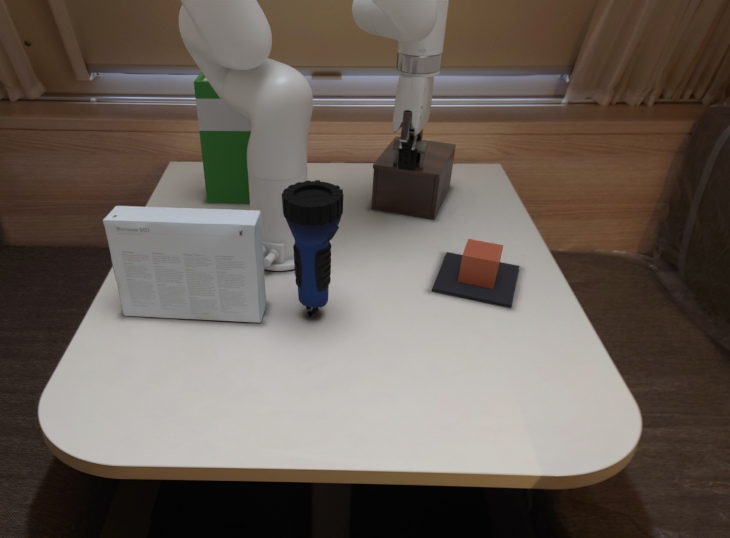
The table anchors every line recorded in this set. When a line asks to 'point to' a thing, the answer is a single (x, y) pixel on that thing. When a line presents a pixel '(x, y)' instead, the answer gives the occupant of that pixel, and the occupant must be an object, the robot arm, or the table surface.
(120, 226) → the skincare box
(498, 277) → the mat
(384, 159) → the lid
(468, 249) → the small box
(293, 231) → the flashlight
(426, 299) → the table surface
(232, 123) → the hardback book
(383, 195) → the chest
